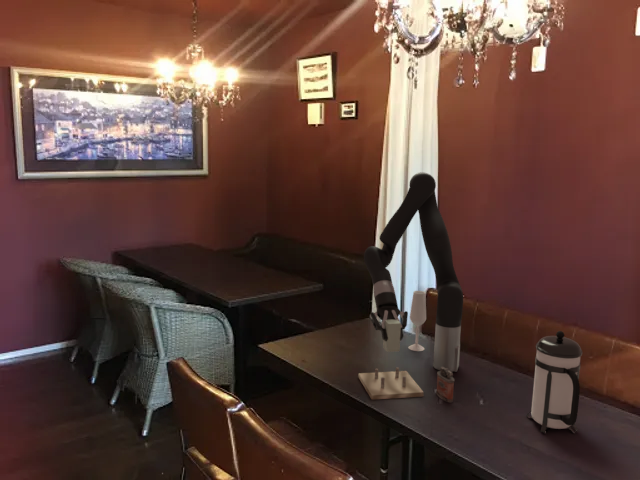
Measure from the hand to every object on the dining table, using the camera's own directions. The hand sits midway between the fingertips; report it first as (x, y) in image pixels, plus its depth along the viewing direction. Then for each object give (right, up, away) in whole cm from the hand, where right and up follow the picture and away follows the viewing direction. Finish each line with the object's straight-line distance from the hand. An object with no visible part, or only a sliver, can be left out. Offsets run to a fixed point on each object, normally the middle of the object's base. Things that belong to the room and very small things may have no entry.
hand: (393, 339), depth 192 cm
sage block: (0, -4, +3) cm, 5 cm away
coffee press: (+46, -23, -21) cm, 56 cm away
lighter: (+17, -19, -2) cm, 26 cm away
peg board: (-1, -17, +5) cm, 18 cm away
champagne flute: (+15, -11, +42) cm, 46 cm away
